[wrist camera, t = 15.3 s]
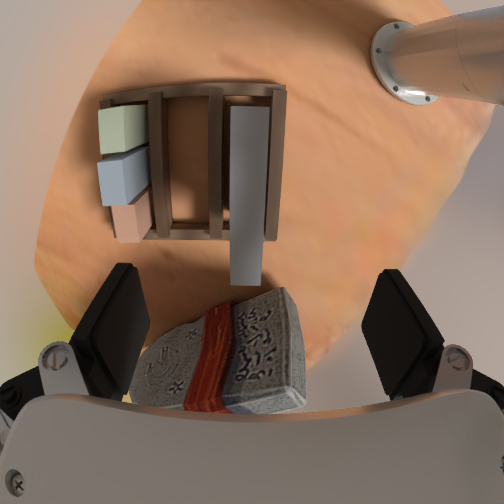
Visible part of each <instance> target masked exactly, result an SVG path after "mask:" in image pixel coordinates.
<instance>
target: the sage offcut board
mask: <svg viewBox="0 0 504 504" xmlns="http://www.w3.org/2000/svg"><path fill="white" fill-rule="evenodd" d="M98 124H99V141H100V154H107V153H116V152H125V151H127V150H130V149H132V148H134V147H136V146H139V145H141V144H143V143H146V142H148V141H149V116H148V105H131V106H120V107H114V108H108V109H103V110H98Z"/></svg>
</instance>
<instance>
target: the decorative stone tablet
mask: <svg viewBox="0 0 504 504" xmlns="http://www.w3.org/2000/svg"><path fill="white" fill-rule="evenodd" d="M129 394H130V397H131V400H132V404H138V405H145V406H152V407H159V408H166V409H174V410H183V411H193V412H206V413H223V414H273V413H278V412H283V411H288V410H292V409H297V408H302V407H303V406H304V405H305V403H306V402H307V399H306V362H305V345H304V340H303V335H302V330H301V325H300V320H299V315H298V310H297V306H296V304H295V303H294V301H293V299H292V298H291V296H290V295H289V293H288V292H287V290H286V289H285V287H280V288H276V289H274V290H271V291H269V292H266V293H264V294H261V295H259V296H257V297H254V298H252V299H249V300H247V301H244V302H242V303H239V304H235V303H234V302H233V301H232V302H228V303H226V304H223V305H221V306H219V307H216V308H214V309H211V310H209V311H207V312H206V314H205V316H203V317H202V318H200V319H199V320H197V321H196V322H195V323H186V324H183V325H181V326H178V327H176V328H174V329H173V330H171V331H169V332H168V333H166V334H164V335H162V336H161V337H159V338H158V339H157V340H156V341H155V342H154V343H153V344H152V345H151V346H149V347H148V348H147V349H146V350H145V351H144V352H143V353H142V354H141V356H140V358H139V360H138V362H137V365H136V368H135V371H134V374H133V377H132V381H131V384H130V387H129Z"/></svg>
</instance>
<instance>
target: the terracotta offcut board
mask: <svg viewBox="0 0 504 504" xmlns="http://www.w3.org/2000/svg"><path fill="white" fill-rule="evenodd" d="M111 208H112V214H113V220H114V226H115V231H116V236H117V241H118V243H140V242H141V240H142V239H143V237H144V236H145V234H146V233H147V231H148V230H149V229H150V227H151V226H152V224H153V223H154V221H155V211H154V201H153V190H152V186H148V187H145V188H144V189H143V190H142V191H141V192H140V193H139V194H138V195H137V196H136V197H135V198H134V199H133V200H132V201H131V202H130V203H129V204H128V205H116V206H111Z"/></svg>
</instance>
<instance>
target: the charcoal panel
mask: <svg viewBox="0 0 504 504" xmlns="http://www.w3.org/2000/svg"><path fill="white" fill-rule="evenodd" d="M269 111H270V107H256V106H231V124H230V285H237V286H260V285H261V268H262V251H263V233H264V215H265V196H266V176H267V155H268V134H269Z"/></svg>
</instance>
